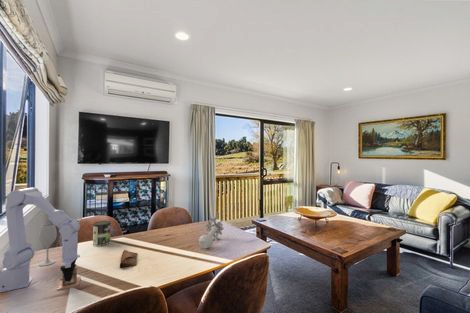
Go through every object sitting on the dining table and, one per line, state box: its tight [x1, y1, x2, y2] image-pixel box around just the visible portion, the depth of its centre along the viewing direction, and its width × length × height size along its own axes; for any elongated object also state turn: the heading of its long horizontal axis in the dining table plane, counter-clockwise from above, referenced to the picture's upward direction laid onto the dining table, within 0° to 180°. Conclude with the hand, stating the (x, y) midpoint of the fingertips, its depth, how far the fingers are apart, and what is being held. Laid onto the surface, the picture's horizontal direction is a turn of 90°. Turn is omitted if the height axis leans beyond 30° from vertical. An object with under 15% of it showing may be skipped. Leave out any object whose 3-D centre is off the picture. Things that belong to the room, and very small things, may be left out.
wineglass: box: [38, 222, 58, 267], centre depth 123 cm, size 8×8×21 cm
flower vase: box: [198, 216, 224, 250], centre depth 154 cm, size 13×18×25 cm
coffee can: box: [92, 220, 112, 247], centre depth 152 cm, size 10×10×14 cm
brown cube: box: [61, 267, 78, 286], centre depth 103 cm, size 5×5×5 cm
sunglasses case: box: [119, 249, 138, 270], centre depth 127 cm, size 18×7×7 cm, turn 23°
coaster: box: [56, 275, 81, 291], centre depth 103 cm, size 8×8×1 cm
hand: (69, 276), depth 103 cm, fingers open, 7 cm apart
